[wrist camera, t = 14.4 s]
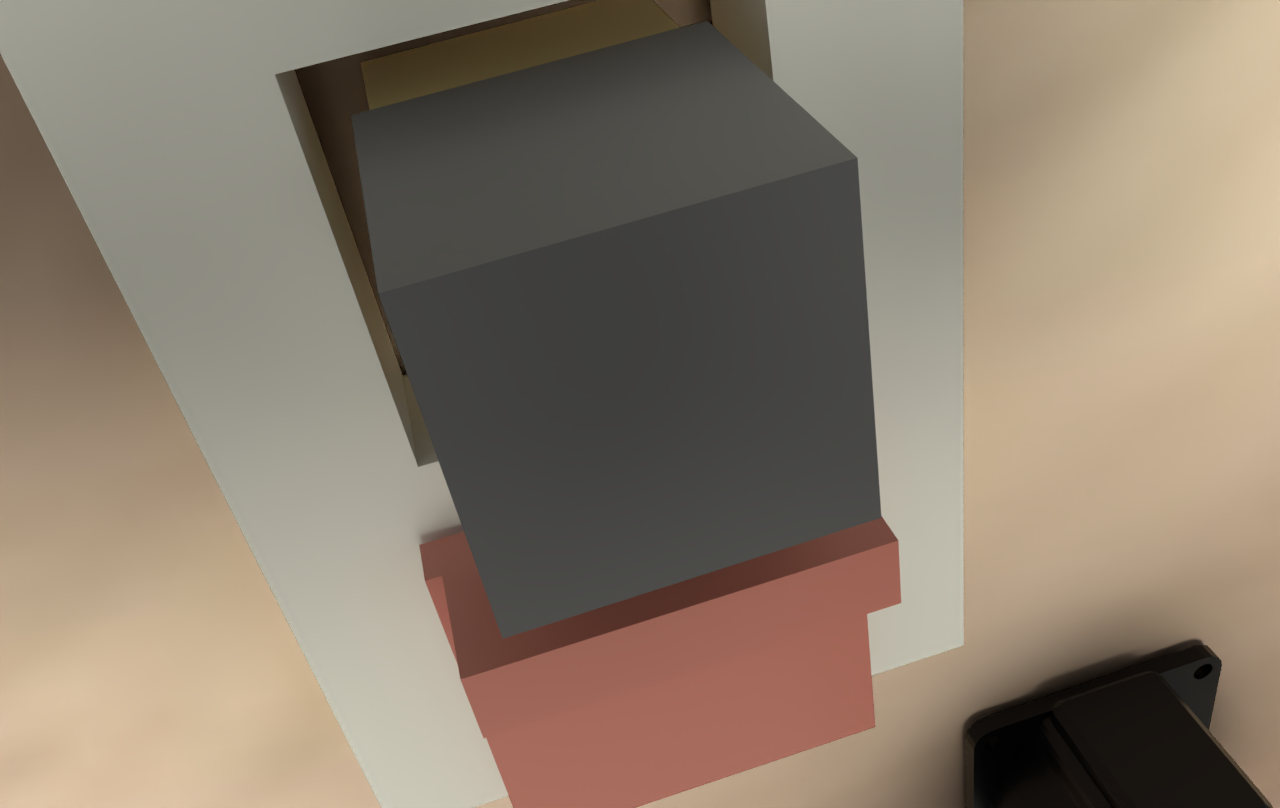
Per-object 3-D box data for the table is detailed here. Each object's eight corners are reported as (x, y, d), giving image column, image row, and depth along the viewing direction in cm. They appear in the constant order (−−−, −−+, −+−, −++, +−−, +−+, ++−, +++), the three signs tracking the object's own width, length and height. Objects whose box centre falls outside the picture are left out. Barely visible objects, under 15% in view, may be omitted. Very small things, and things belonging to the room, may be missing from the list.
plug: (697, 247, 19) (881, 517, 13) (432, 324, 18) (502, 638, 12) (652, -29, 16) (856, 157, 10) (341, 51, 15) (378, 294, 10)
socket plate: (905, 559, 24) (963, 645, 22) (384, 726, 22) (394, 834, 20) (858, -561, 13) (962, -595, 11) (-129, -364, 12) (-211, -363, 10)
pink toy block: (857, 693, 21) (925, 818, 19) (519, 806, 21) (549, 949, 18) (833, 419, 18) (916, 535, 15) (419, 544, 17) (441, 685, 15)
